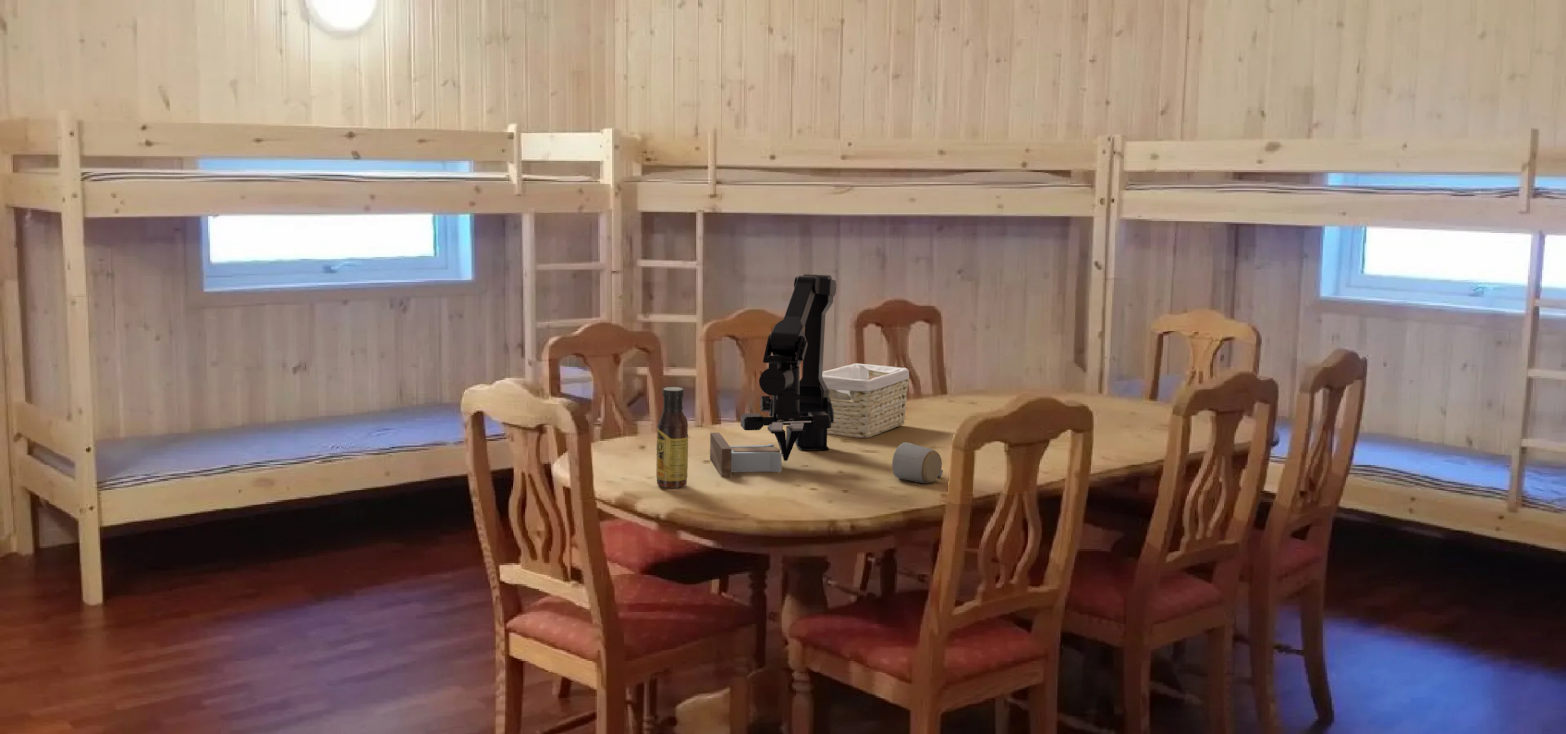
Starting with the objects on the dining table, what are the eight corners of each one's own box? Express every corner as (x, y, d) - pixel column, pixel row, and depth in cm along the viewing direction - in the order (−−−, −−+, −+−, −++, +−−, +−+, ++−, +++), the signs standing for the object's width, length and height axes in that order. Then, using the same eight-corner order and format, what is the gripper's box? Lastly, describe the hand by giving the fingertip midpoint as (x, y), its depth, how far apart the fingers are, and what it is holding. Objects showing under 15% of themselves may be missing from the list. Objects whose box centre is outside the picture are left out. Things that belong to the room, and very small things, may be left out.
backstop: (719, 459, 316) (719, 432, 315) (731, 477, 298) (731, 448, 297) (710, 459, 315) (710, 432, 315) (721, 477, 298) (721, 448, 297)
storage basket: (867, 440, 341) (868, 379, 339) (807, 433, 349) (808, 372, 347) (910, 426, 362) (912, 367, 360) (852, 419, 370) (854, 362, 368)
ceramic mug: (923, 487, 293) (925, 449, 292) (890, 480, 298) (892, 444, 297) (952, 480, 301) (953, 443, 300) (919, 474, 306) (920, 438, 305)
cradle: (773, 462, 314) (773, 443, 314) (781, 472, 304) (782, 453, 303) (721, 462, 312) (721, 444, 312) (728, 473, 302) (728, 454, 301)
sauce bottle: (656, 482, 292) (657, 385, 289) (687, 482, 293) (688, 385, 290) (656, 489, 286) (656, 390, 283) (687, 489, 286) (688, 390, 283)
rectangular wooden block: (776, 465, 311) (776, 446, 311) (779, 468, 307) (779, 450, 307) (730, 465, 310) (730, 447, 309) (733, 469, 306) (733, 451, 305)
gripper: (821, 382, 317) (820, 451, 319) (736, 383, 313) (736, 454, 315) (832, 389, 306) (831, 462, 308) (745, 391, 302) (744, 464, 304)
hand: (785, 460), depth 309 cm, fingers closed
